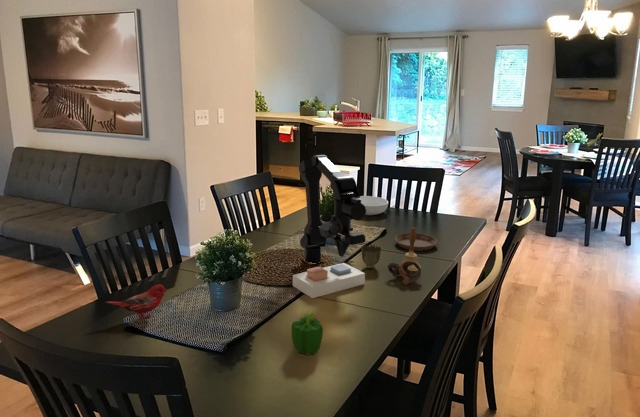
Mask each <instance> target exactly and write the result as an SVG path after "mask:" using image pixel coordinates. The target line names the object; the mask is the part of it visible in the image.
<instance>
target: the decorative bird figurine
mask: <svg viewBox="0 0 640 417" xmlns="http://www.w3.org/2000/svg"><path fill="white" fill-rule="evenodd" d="M166 292H169V291H168V289H167V288H165V287H164V285H162V284H160V283H159V284H155V285H154V286H152V287H150V288H149V289H148V290H147V291H145V292H143V293H141V294H137V295H134V296H132V297H129V298H128V299H125V300H122V301H104V303H105V304H109V305H114V306H117V307H121V308H122V309H124V310H126V311H128V312H132V313H136V314H138V315H137V316H136V318H149V317H152V316H154V314H145V313H149V312H151V311H154V310H155V309H156V308H157V307H158V306H159V305H160V304H161V302H162V299H163V297H164V295H165V293H166Z"/></svg>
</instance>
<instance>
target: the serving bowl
mask: <svg viewBox="0 0 640 417" xmlns="http://www.w3.org/2000/svg"><path fill="white" fill-rule="evenodd" d="M357 199H361V203H362V204H363V205H364V206H365V208H366V214H365V216H374V215H379V214H382V213H383V212H385V211H386V210H387V209H388V206H389V201H388V199H386V198H383V197H379V196H373V195H372V196H371V195H360V198H357Z"/></svg>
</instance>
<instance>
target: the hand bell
mask: <svg viewBox="0 0 640 417" xmlns="http://www.w3.org/2000/svg"><path fill="white" fill-rule="evenodd" d="M409 233H410V234H409V241H410V249H409V250H408V252H406V253H405V255H404V259H403V261H402V262H404V261H408V260H409V261H413V262H415V263H417V264H418V265H419V266H420V268H421V269H422V267H421V265H420V263H419V262H418V255H417V253H415V252H414V243H415V240H416V233H417V231H416V227H411V229H410V231H409ZM408 270H410V271H415V272H418V269H417V268H416V267H415V266H414V265H411V266H409V267H408Z"/></svg>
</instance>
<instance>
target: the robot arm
mask: <svg viewBox="0 0 640 417" xmlns="http://www.w3.org/2000/svg"><path fill="white" fill-rule="evenodd" d="M298 171H299V176H300V179H301V181H303V183H304V186H305V198H306V199H305V200H306V215H307V223H306V224H305V227H304V228H303V235H302V237H301V239H300V240H299V243H300V247H301V248H302V249H304V258H305V261H307V262H312V263H318V264H320V263H319V262H321V261H322V263H324V262H323V261H324V260H323V259H322V252H321V250H322V248H325V247H326V243H327V241H328V240H327V239H330V238H331V239H332V240H333V241H334V243H335V246H336V249H337V252H338V256H339V257H340V258H342V257H344V256H345V254H346V252H347V250H348V249H349V247H350V245H352V246H354V245H359V244H363V243H366V235H365V234H364V233H361V232H360V231H354V227H352V226H351V225H352V221H353V220H355V221H360V220H363V218H365V216H366V215H365V214H366V208H365V206H364V205H363V204H362V203H361V199H357V198H360V196H361V195H360V193H361V192H360V190H359V188H358V186H357V182H356V179H355V178H354V177H353V176H352V175H350V174H349V173H346V172H342V171H341V170H340V169H339V168H338V167H336V165H334V163H333V162H331V160H330V159H329V158H328V155H325V154H315V155H312V157H310V158H307V159H304V160H302V161H301V162H300V163H299V165H298ZM322 175H323V176H325V178H326V179H327V180H328V181H329V182H330V184H329V185H330V186H329V187H330V189H331V190H332V193H333V194H332V195H331V196H332V198H334V209H333V210H334V212H333V214H332V215H331V217H330V220H329V221H325V222H324V223H323V222H322V220H321V206H320V192H319V189H320V188H319V184H320V183H319V182H320V181H321V178H322Z"/></svg>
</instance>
